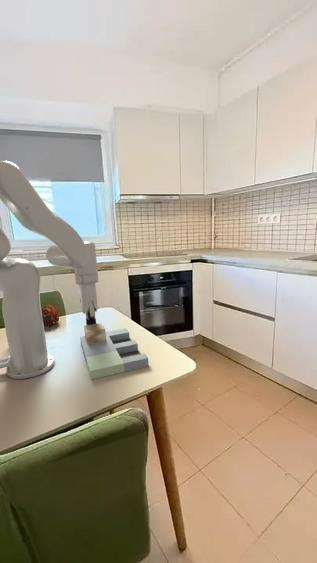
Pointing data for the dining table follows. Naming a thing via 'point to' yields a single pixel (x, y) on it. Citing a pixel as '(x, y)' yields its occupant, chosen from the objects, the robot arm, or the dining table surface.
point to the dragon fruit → (50, 314)
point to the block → (95, 333)
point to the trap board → (113, 354)
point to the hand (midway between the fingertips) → (91, 328)
